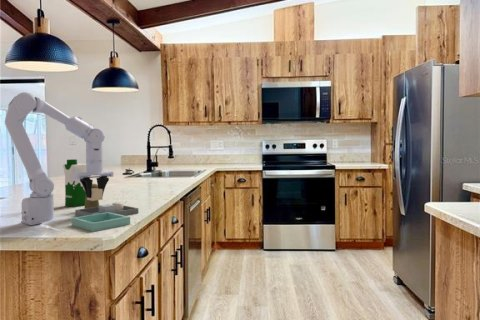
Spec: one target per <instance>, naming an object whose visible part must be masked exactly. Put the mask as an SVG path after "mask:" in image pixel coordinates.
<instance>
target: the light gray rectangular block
mask: <svg viewBox="0 0 480 320" xmlns="http://www.w3.org/2000/svg"><path fill="white" fill-rule="evenodd" d="M106 212H115V205H112V204H109V203H108V204H101V205H100V204H99V214H100V213H106Z"/></svg>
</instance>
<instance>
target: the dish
mask: <svg viewBox="0 0 480 320" xmlns="http://www.w3.org/2000/svg"><path fill="white" fill-rule="evenodd" d="M70 220H71V226H72V227H74V228H75V227H76V228H79V229H83V230H86V231H89V232H93V233H94V232H98V231H103V230H107V229H113V228H117V227H119V228H120V227H123V226H128V225H131V216H129V215H126V216H124V215H119V214H115V213H110V212H106V213H100V214H94V215H87V216H75V217H72V218H71V219H70Z"/></svg>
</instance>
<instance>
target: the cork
mask: <svg viewBox="0 0 480 320" xmlns="http://www.w3.org/2000/svg"><path fill="white" fill-rule="evenodd" d="M93 188H98V184H97V183H92V189H93ZM99 201H100V200H95V201H91V200H87V196H86V199H85V206H83V207H84V208H83V209H85V208H92V207H99V206H100V202H99Z"/></svg>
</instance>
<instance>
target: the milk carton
mask: <svg viewBox="0 0 480 320" xmlns="http://www.w3.org/2000/svg"><path fill="white" fill-rule="evenodd" d="M62 166H63V167H62V168H63V172H64V185H65V186H64V188H65V191H64V192H65V193H64V194H65V198H64V202H65V203H64V206H65V207H71V208H77V207H79V208H80V207H85V199H86V192H85V189H84V187H83V185H82V183H81V182H80V179H74V174H76V173H86V163H78V159H66V164H65V163H64V164H62ZM87 177H89V176H87Z"/></svg>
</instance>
